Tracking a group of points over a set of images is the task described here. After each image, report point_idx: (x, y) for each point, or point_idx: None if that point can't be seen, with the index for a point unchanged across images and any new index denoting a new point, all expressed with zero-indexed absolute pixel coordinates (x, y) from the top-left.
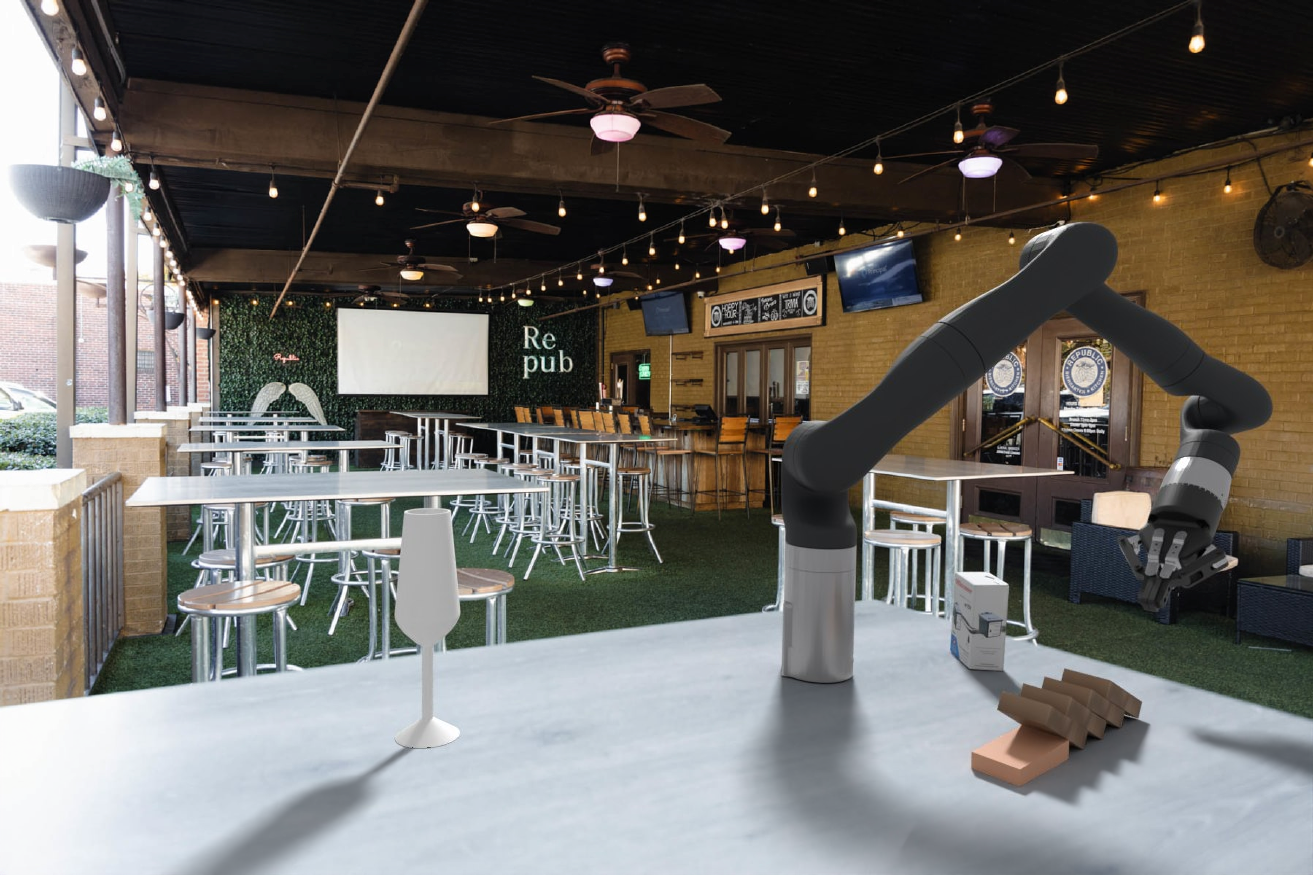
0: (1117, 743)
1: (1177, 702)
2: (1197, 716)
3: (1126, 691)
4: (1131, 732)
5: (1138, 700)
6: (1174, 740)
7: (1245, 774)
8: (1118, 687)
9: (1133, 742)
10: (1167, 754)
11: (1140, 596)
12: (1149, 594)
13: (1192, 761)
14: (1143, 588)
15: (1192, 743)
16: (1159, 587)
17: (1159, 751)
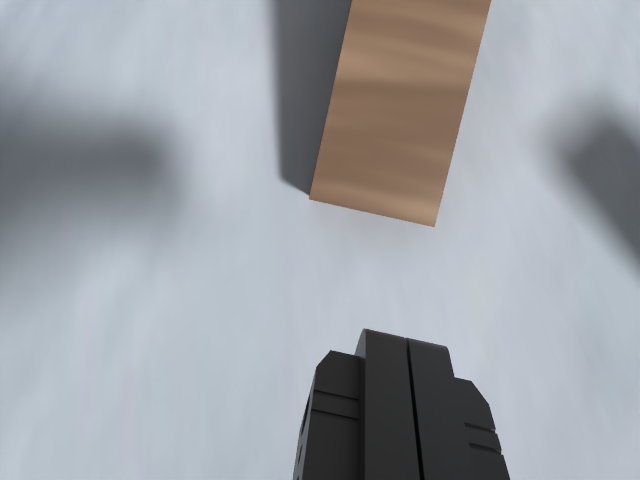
0: (319, 16)
1: (237, 429)
2: (176, 326)
3: (337, 68)
4: (307, 96)
5: (315, 170)
6: (216, 104)
7: (74, 2)
8: (351, 3)
9: (292, 40)
10: (221, 16)
11: (463, 388)
12: (410, 381)
13: (173, 9)
14: (479, 453)
15: (178, 109)
16: (361, 428)
17: (238, 23)
